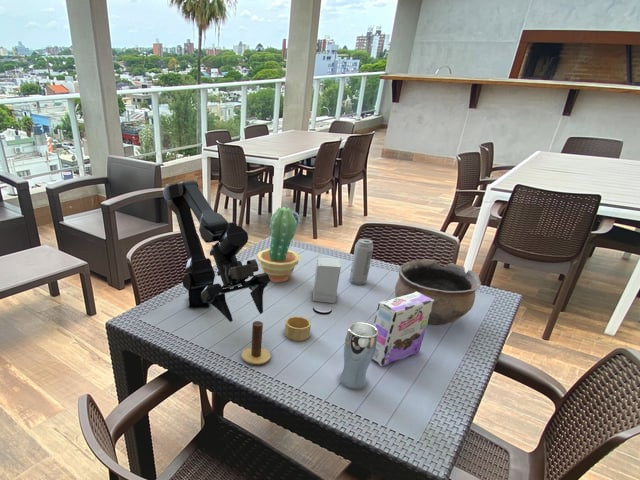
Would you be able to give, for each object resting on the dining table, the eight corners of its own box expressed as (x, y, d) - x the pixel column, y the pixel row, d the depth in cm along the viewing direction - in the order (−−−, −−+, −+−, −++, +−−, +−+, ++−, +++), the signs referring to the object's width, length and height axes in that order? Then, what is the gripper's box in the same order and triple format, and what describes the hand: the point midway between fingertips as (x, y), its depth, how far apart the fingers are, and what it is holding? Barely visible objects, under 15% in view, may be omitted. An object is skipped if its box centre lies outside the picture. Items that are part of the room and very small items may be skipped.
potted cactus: (300, 286, 153) (309, 215, 139) (257, 285, 153) (260, 214, 139) (295, 268, 166) (302, 202, 152) (254, 268, 166) (257, 201, 152)
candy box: (381, 367, 112) (395, 311, 103) (365, 356, 116) (377, 301, 107) (419, 353, 117) (436, 299, 108) (402, 343, 122) (417, 290, 113)
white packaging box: (335, 303, 142) (341, 267, 135) (312, 301, 143) (316, 265, 136) (334, 293, 148) (340, 258, 141) (312, 291, 149) (317, 256, 142)
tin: (292, 342, 122) (293, 330, 120) (280, 330, 127) (281, 318, 125) (313, 338, 124) (315, 326, 122) (301, 326, 129) (302, 314, 127)
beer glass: (334, 373, 110) (343, 322, 102) (361, 372, 110) (372, 321, 102) (343, 391, 104) (353, 338, 96) (371, 389, 104) (384, 336, 96)
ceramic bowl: (475, 317, 134) (492, 272, 126) (450, 346, 120) (467, 297, 112) (405, 295, 147) (416, 253, 139) (376, 318, 133) (386, 273, 125)
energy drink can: (352, 276, 159) (360, 236, 151) (368, 280, 157) (377, 240, 148) (346, 282, 155) (353, 241, 147) (362, 286, 152) (370, 245, 144)
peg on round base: (240, 365, 113) (241, 330, 107) (242, 349, 119) (244, 315, 113) (269, 367, 112) (272, 332, 106) (270, 351, 118) (273, 317, 113)
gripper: (205, 256, 105) (226, 316, 103) (269, 243, 112) (290, 299, 110) (192, 274, 115) (211, 329, 113) (252, 261, 123) (271, 312, 120)
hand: (246, 317), depth 114 cm, fingers open, 9 cm apart
